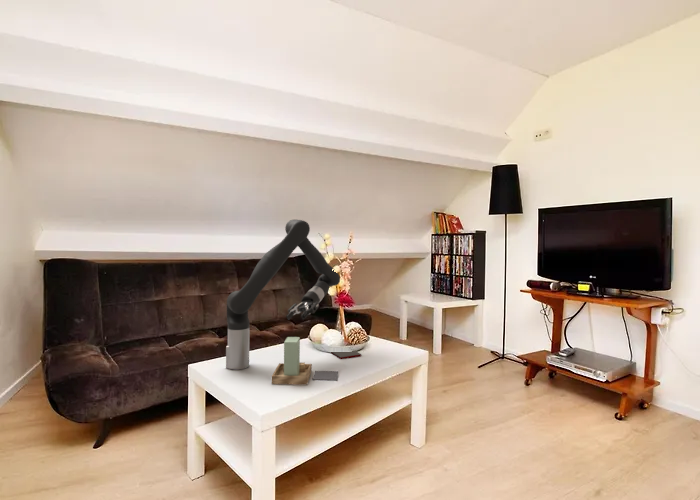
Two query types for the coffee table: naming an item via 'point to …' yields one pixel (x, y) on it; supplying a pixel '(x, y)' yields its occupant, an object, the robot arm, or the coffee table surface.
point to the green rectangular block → (291, 356)
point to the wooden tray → (301, 379)
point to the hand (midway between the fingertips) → (294, 318)
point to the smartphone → (346, 354)
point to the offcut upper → (301, 365)
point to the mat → (325, 375)
